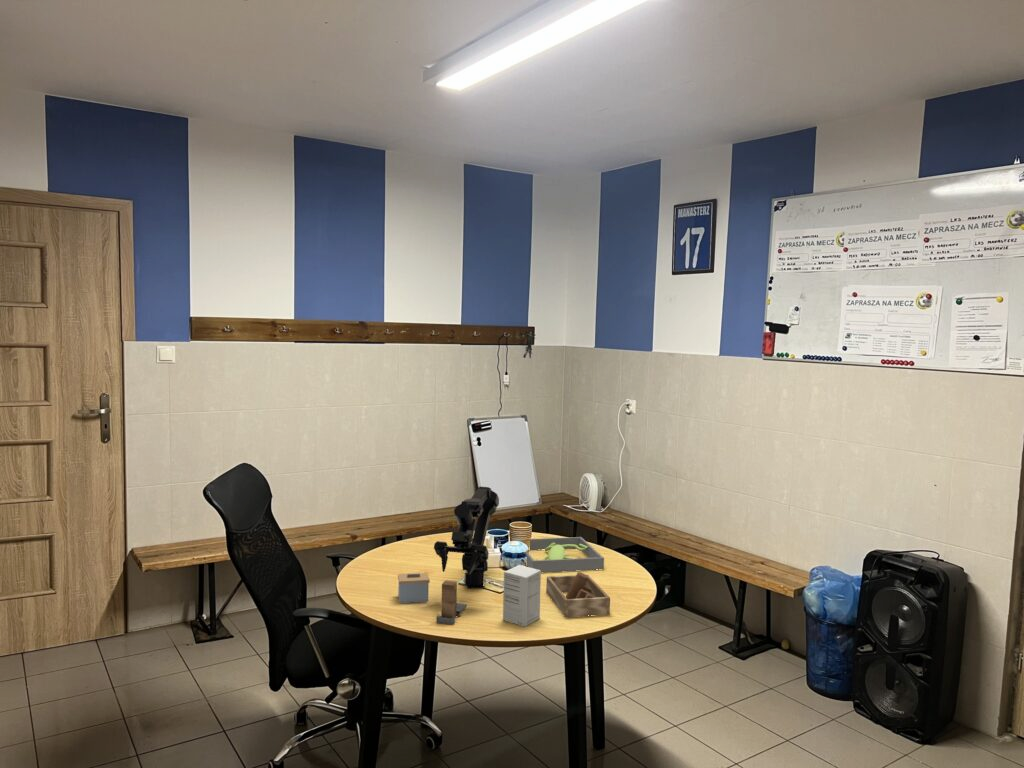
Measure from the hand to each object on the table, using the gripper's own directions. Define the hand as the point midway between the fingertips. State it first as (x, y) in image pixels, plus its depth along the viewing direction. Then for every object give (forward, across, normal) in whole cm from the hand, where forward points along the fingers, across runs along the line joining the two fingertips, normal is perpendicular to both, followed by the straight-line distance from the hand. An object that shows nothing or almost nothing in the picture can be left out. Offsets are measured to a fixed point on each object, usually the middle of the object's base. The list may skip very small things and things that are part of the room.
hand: (456, 572), depth 256 cm
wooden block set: (-3, +41, +23) cm, 47 cm away
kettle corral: (-36, +26, +55) cm, 71 cm away
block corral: (-4, +40, +22) cm, 46 cm away
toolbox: (+5, -18, +14) cm, 23 cm away
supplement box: (+10, +24, +9) cm, 27 cm away
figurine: (-37, +27, +56) cm, 73 cm away
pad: (+8, 0, +11) cm, 13 cm away
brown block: (+15, 0, +4) cm, 15 cm away
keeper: (+15, 0, +4) cm, 15 cm away
